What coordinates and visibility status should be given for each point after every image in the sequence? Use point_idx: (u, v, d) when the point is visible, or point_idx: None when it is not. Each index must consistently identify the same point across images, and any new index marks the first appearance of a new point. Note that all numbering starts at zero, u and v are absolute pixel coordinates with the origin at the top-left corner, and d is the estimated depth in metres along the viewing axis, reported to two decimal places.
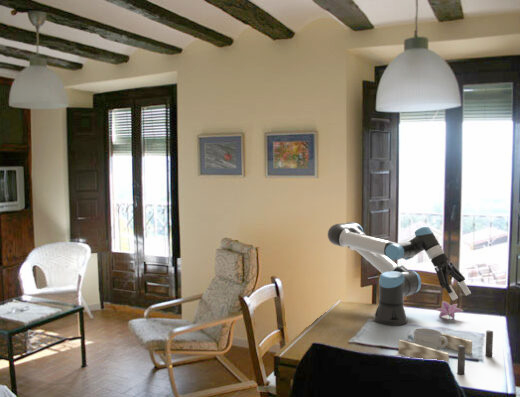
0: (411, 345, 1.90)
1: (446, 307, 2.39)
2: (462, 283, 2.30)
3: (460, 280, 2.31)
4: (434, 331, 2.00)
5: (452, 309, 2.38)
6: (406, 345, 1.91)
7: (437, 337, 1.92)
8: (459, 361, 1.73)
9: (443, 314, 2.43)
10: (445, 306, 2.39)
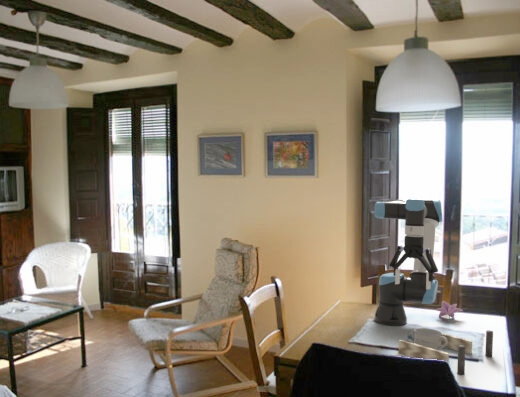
0: (411, 345, 1.90)
1: (446, 307, 2.39)
2: None
3: None
4: (434, 331, 2.00)
5: (452, 309, 2.38)
6: (406, 345, 1.91)
7: (437, 337, 1.92)
8: (459, 361, 1.73)
9: (443, 314, 2.43)
10: (445, 306, 2.39)
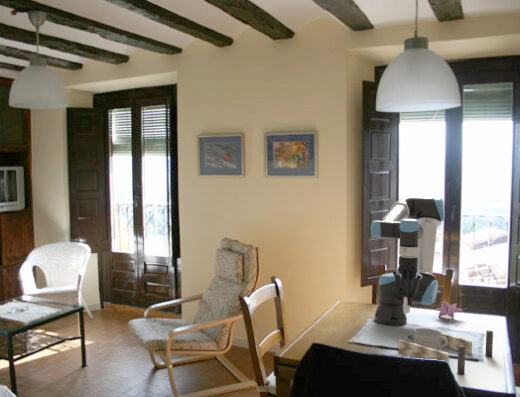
0: (411, 345, 1.90)
1: (445, 307, 2.39)
2: None
3: None
4: (434, 331, 2.00)
5: (451, 309, 2.38)
6: (406, 345, 1.91)
7: (437, 337, 1.92)
8: (459, 361, 1.73)
9: (442, 314, 2.43)
10: (445, 306, 2.39)
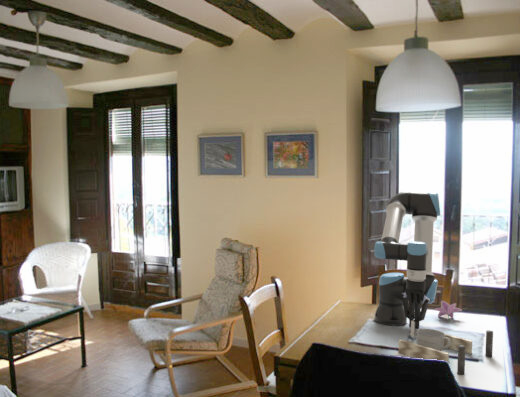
0: (411, 345, 1.90)
1: (445, 307, 2.39)
2: None
3: None
4: (437, 332, 1.99)
5: (451, 309, 2.39)
6: (406, 345, 1.91)
7: (440, 338, 1.91)
8: (459, 361, 1.73)
9: (442, 314, 2.43)
10: (444, 306, 2.39)
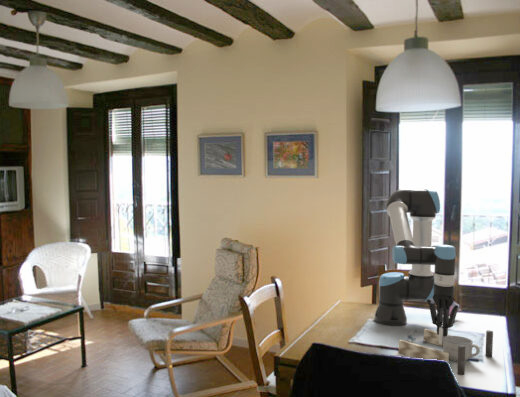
0: (411, 345, 1.90)
1: None
2: None
3: None
4: (464, 339, 1.91)
5: (451, 308, 2.39)
6: (406, 345, 1.91)
7: (468, 345, 1.83)
8: (459, 361, 1.73)
9: None
10: None
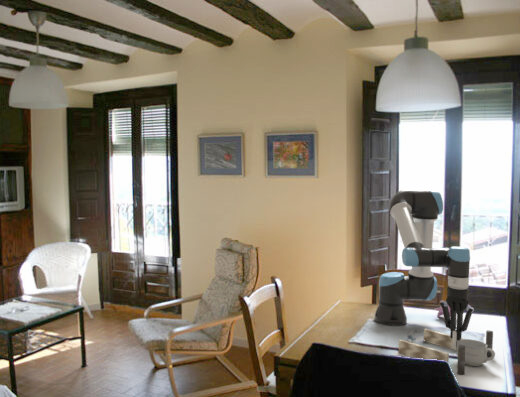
0: (411, 345, 1.90)
1: None
2: None
3: None
4: (478, 342, 1.87)
5: None
6: (406, 345, 1.91)
7: (483, 349, 1.79)
8: (459, 361, 1.73)
9: (441, 313, 2.44)
10: None
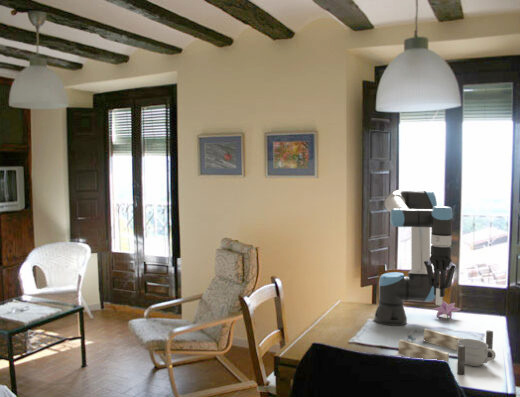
0: (411, 345, 1.90)
1: (444, 306, 2.40)
2: None
3: None
4: (479, 342, 1.87)
5: (450, 308, 2.40)
6: (406, 345, 1.91)
7: (484, 350, 1.79)
8: (459, 361, 1.73)
9: (440, 313, 2.44)
10: (443, 306, 2.40)
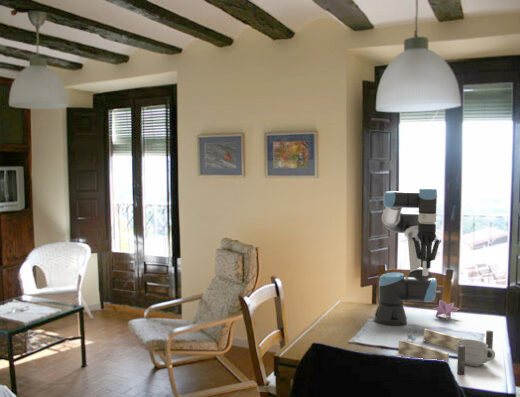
0: (411, 345, 1.90)
1: (443, 306, 2.41)
2: None
3: None
4: (478, 343, 1.87)
5: (449, 308, 2.40)
6: (406, 345, 1.91)
7: (483, 349, 1.79)
8: (459, 361, 1.73)
9: (440, 313, 2.45)
10: (442, 305, 2.41)
